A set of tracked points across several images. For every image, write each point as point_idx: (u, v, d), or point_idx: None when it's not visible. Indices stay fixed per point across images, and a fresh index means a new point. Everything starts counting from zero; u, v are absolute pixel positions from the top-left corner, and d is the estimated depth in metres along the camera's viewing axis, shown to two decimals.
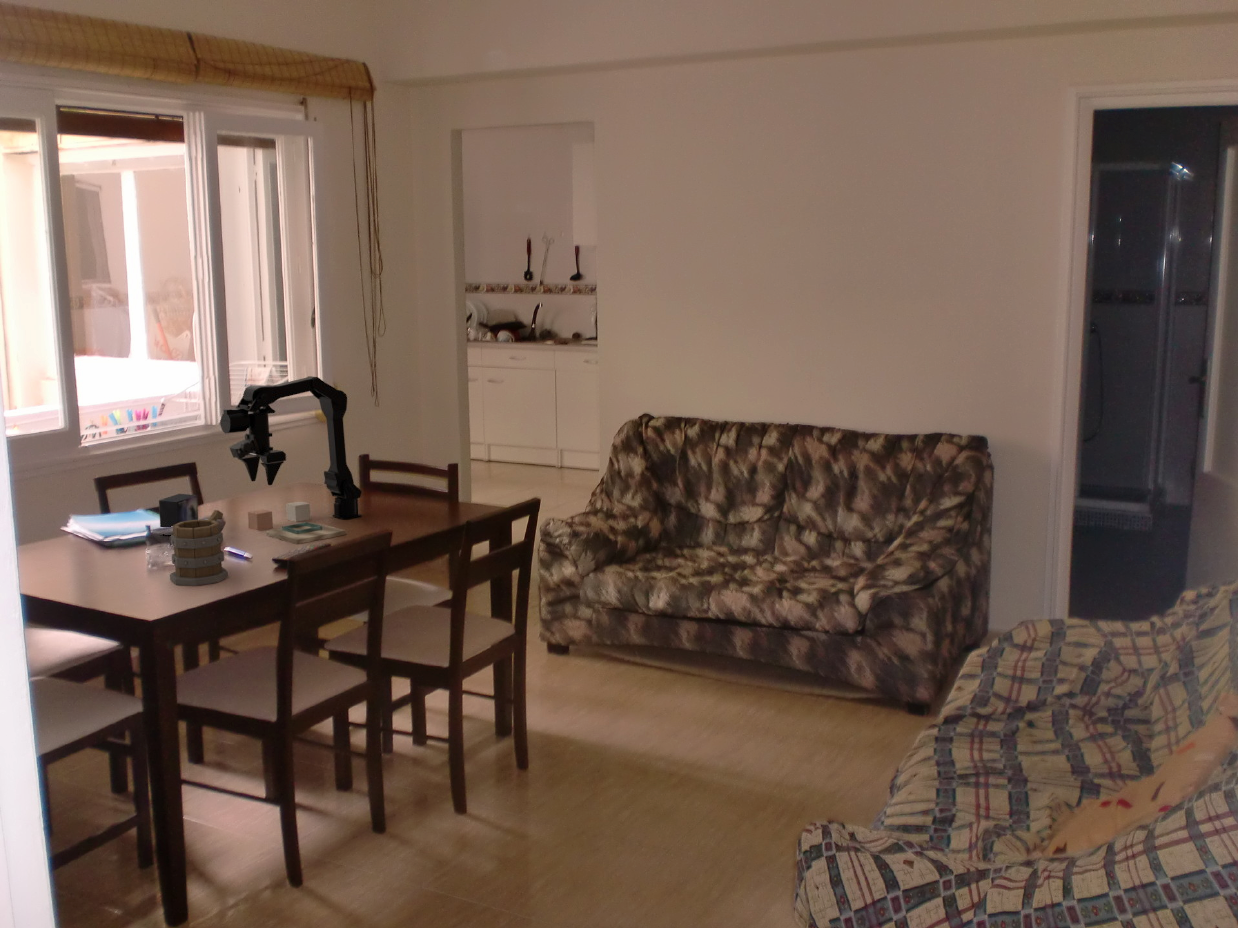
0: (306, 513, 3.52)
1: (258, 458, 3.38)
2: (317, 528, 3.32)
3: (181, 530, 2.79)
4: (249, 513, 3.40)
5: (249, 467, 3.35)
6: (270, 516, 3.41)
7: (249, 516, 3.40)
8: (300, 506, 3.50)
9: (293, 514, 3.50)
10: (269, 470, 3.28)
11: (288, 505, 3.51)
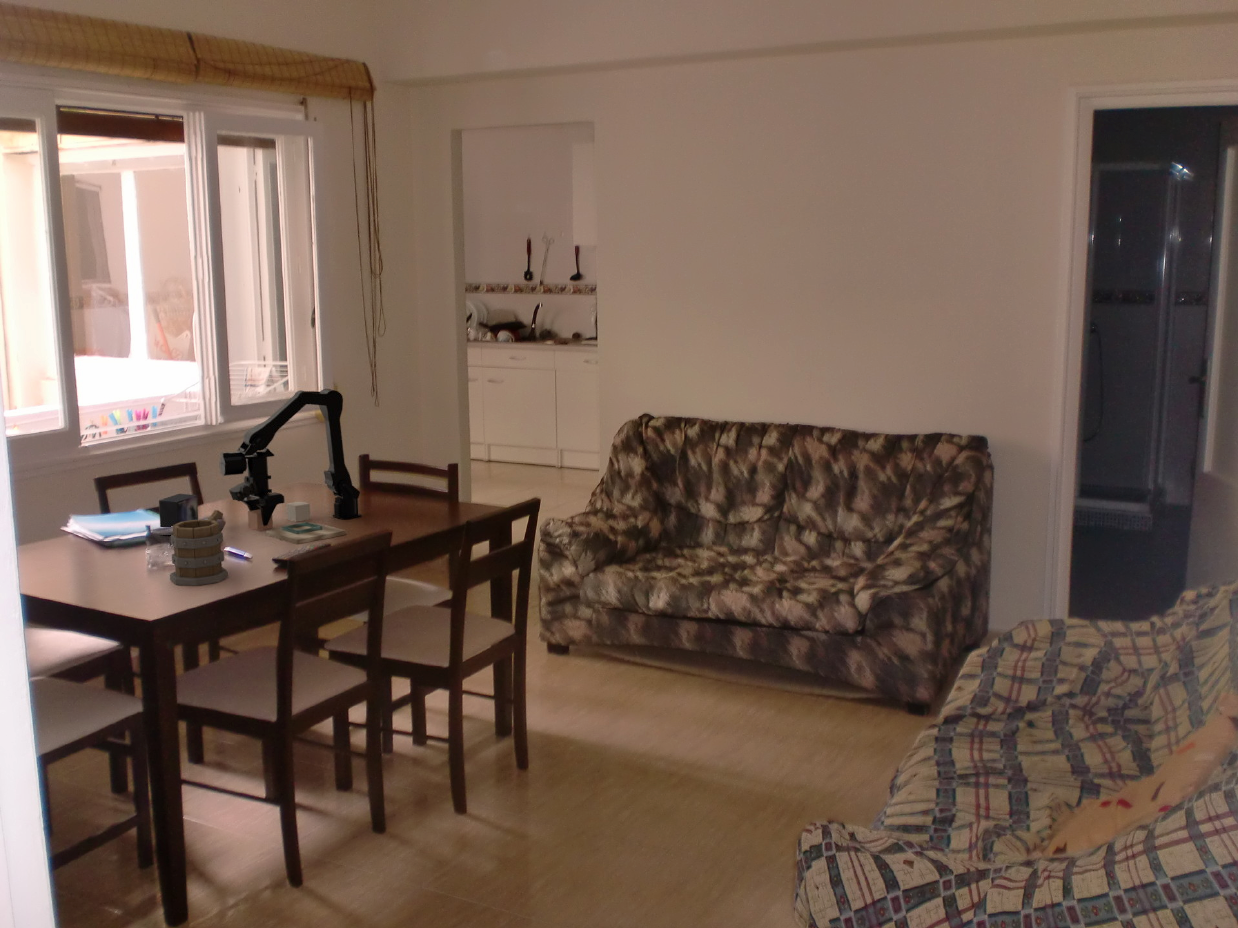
0: (306, 513, 3.52)
1: None
2: (317, 528, 3.32)
3: (182, 530, 2.79)
4: (249, 513, 3.40)
5: (252, 509, 3.42)
6: None
7: (249, 516, 3.40)
8: (300, 506, 3.50)
9: (293, 514, 3.50)
10: (264, 511, 3.37)
11: (288, 505, 3.51)
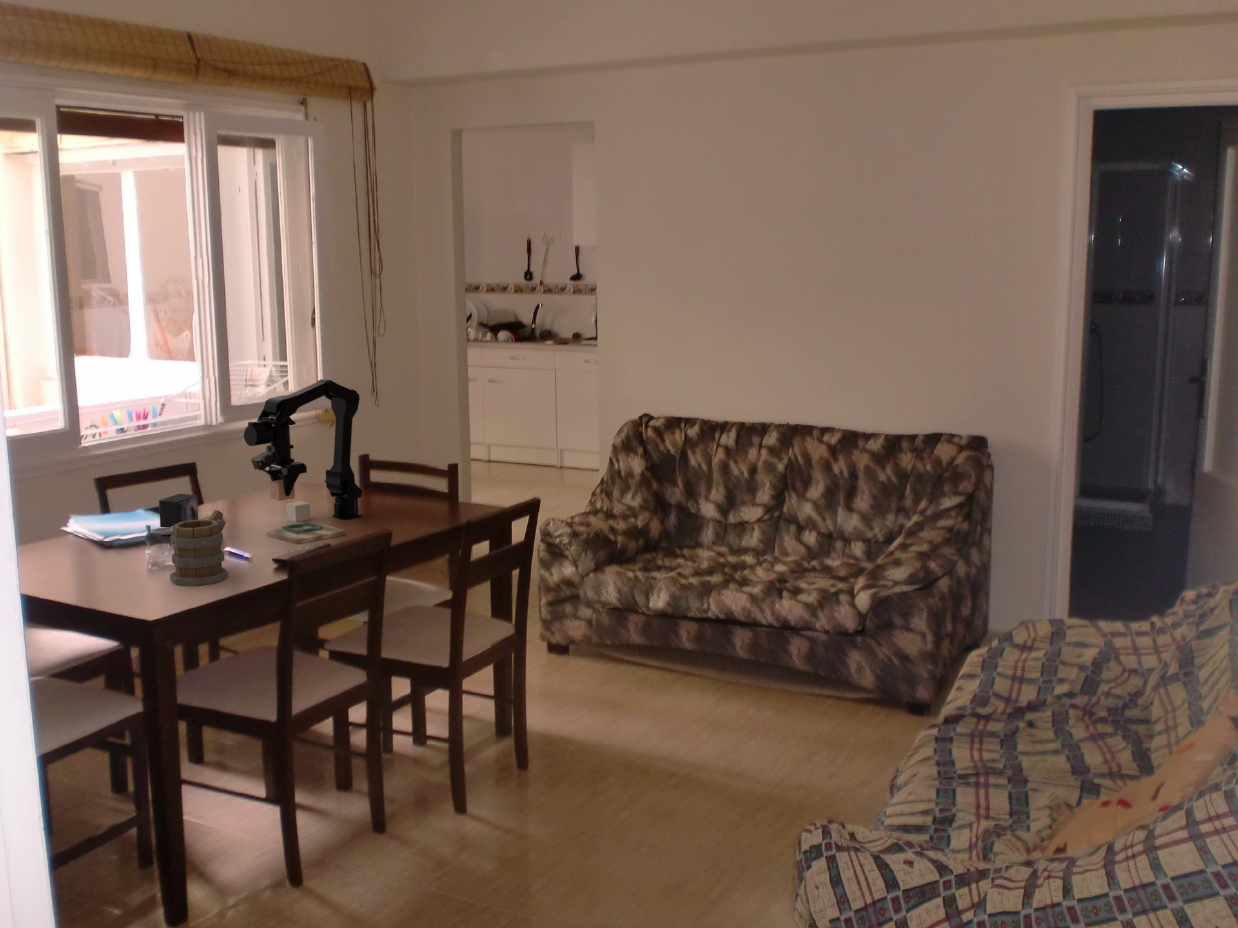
0: (306, 513, 3.52)
1: None
2: (317, 528, 3.32)
3: (182, 530, 2.79)
4: (271, 483, 3.34)
5: (274, 479, 3.36)
6: None
7: (271, 486, 3.34)
8: (300, 506, 3.50)
9: (293, 514, 3.50)
10: (286, 481, 3.31)
11: (288, 505, 3.51)
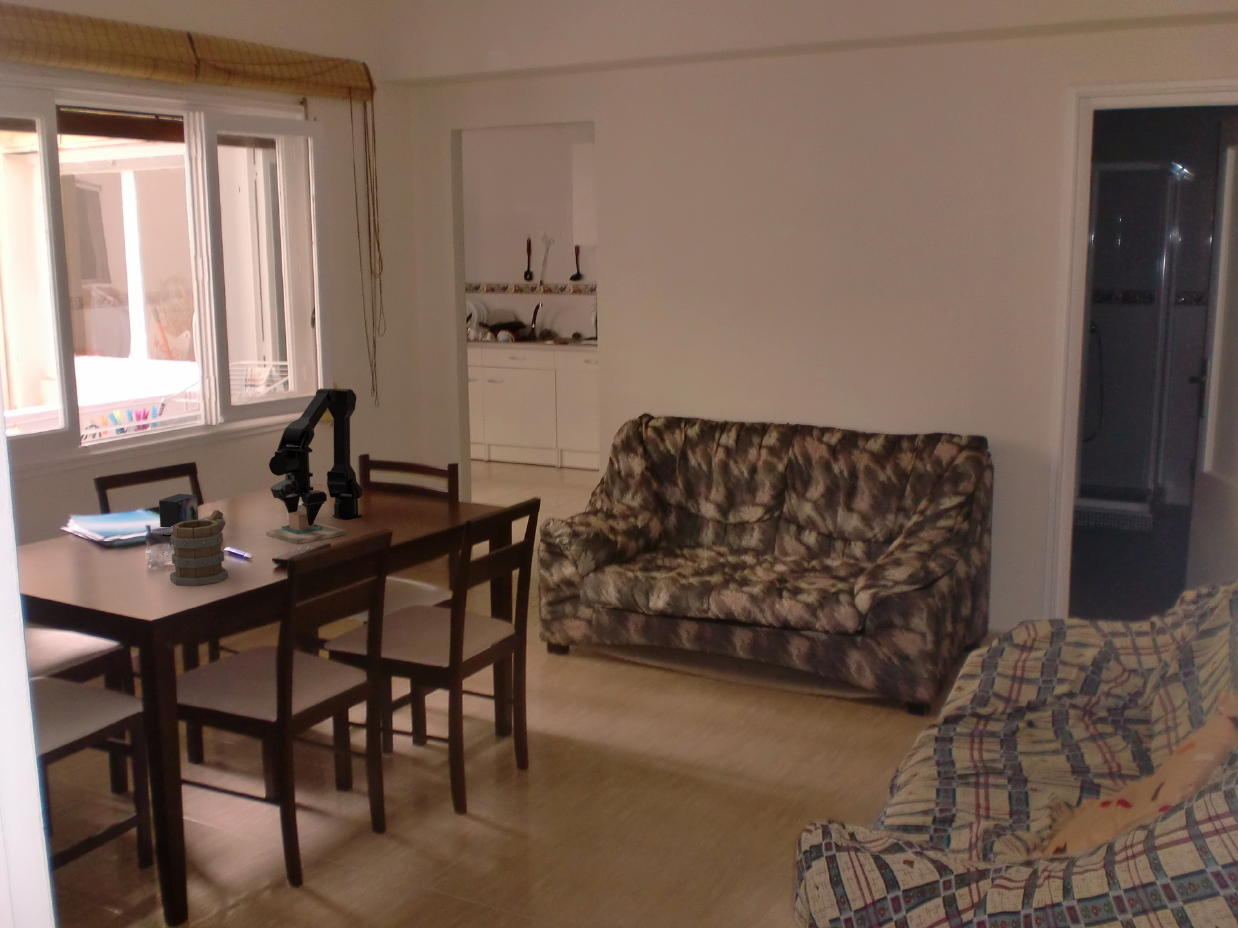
0: None
1: (298, 497, 3.37)
2: (317, 528, 3.32)
3: (181, 530, 2.79)
4: (290, 514, 3.32)
5: (289, 507, 3.35)
6: None
7: (290, 517, 3.32)
8: (300, 506, 3.50)
9: None
10: (310, 510, 3.28)
11: None
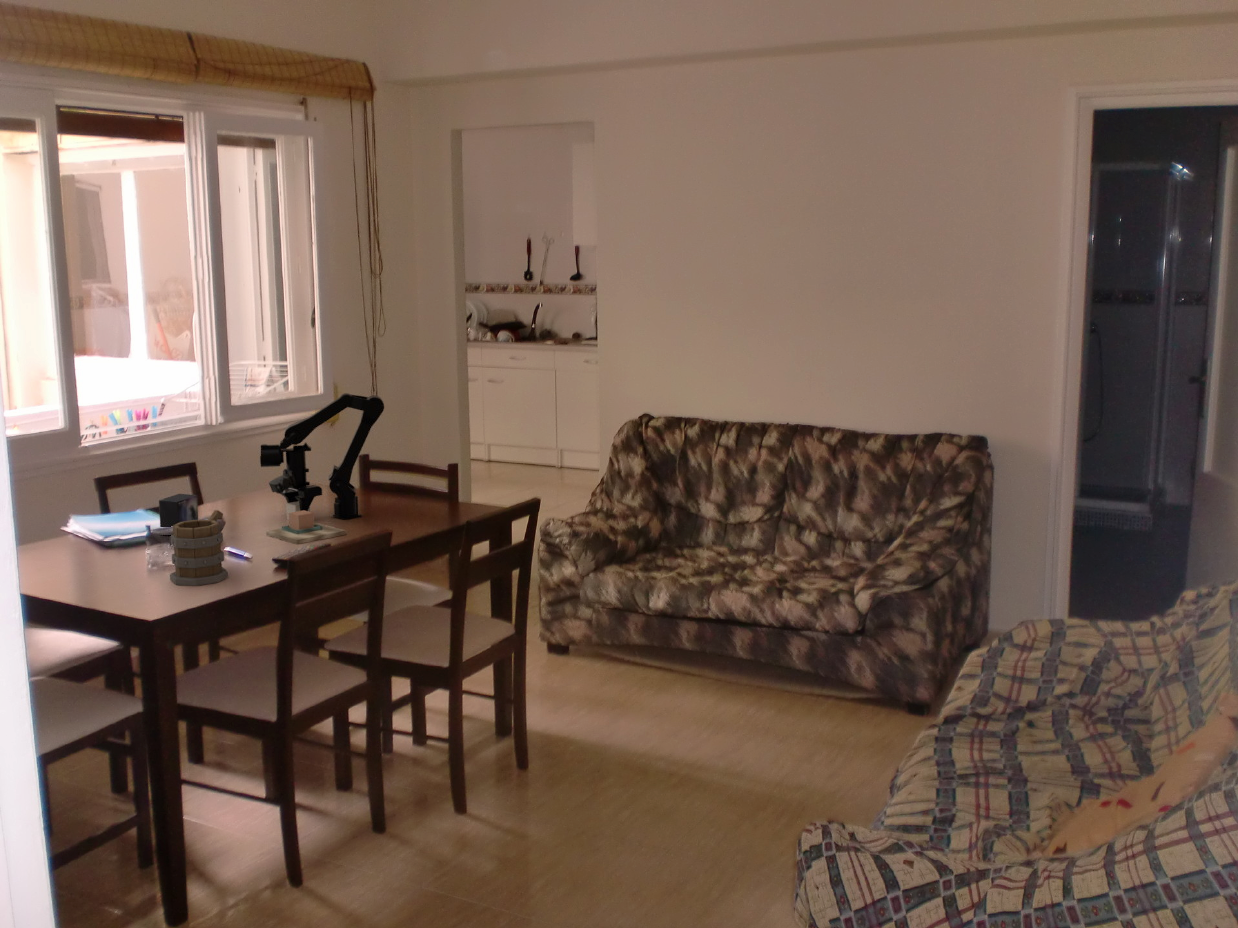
0: None
1: None
2: (317, 528, 3.32)
3: (181, 530, 2.79)
4: (290, 514, 3.32)
5: (290, 501, 3.53)
6: (311, 517, 3.33)
7: (290, 517, 3.32)
8: None
9: None
10: (303, 503, 3.49)
11: (288, 505, 3.51)
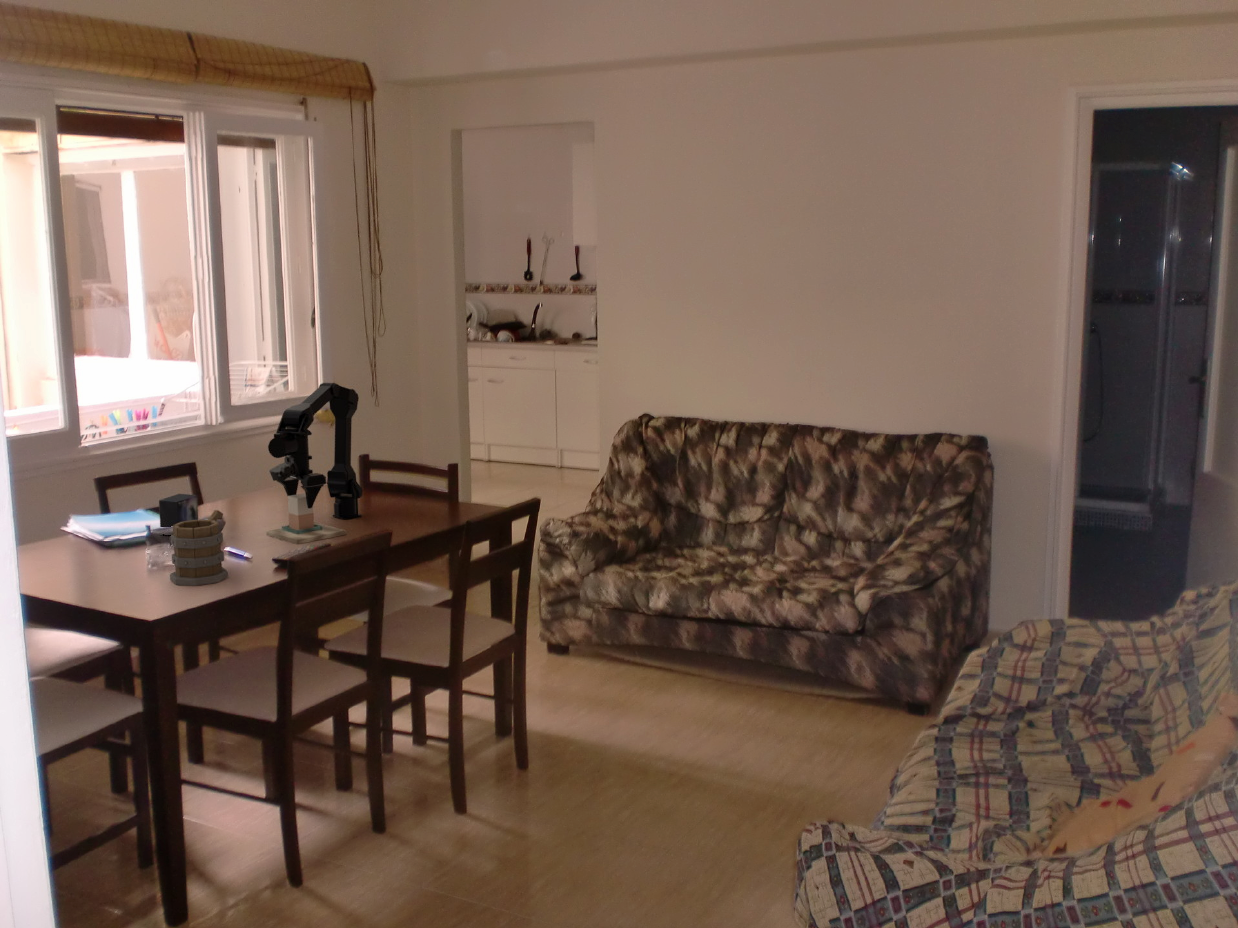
0: None
1: (297, 480, 3.36)
2: (317, 528, 3.32)
3: (181, 530, 2.79)
4: (290, 514, 3.32)
5: (288, 490, 3.34)
6: (311, 517, 3.33)
7: (290, 517, 3.32)
8: (302, 498, 3.30)
9: (295, 507, 3.29)
10: (309, 493, 3.27)
11: (290, 497, 3.31)
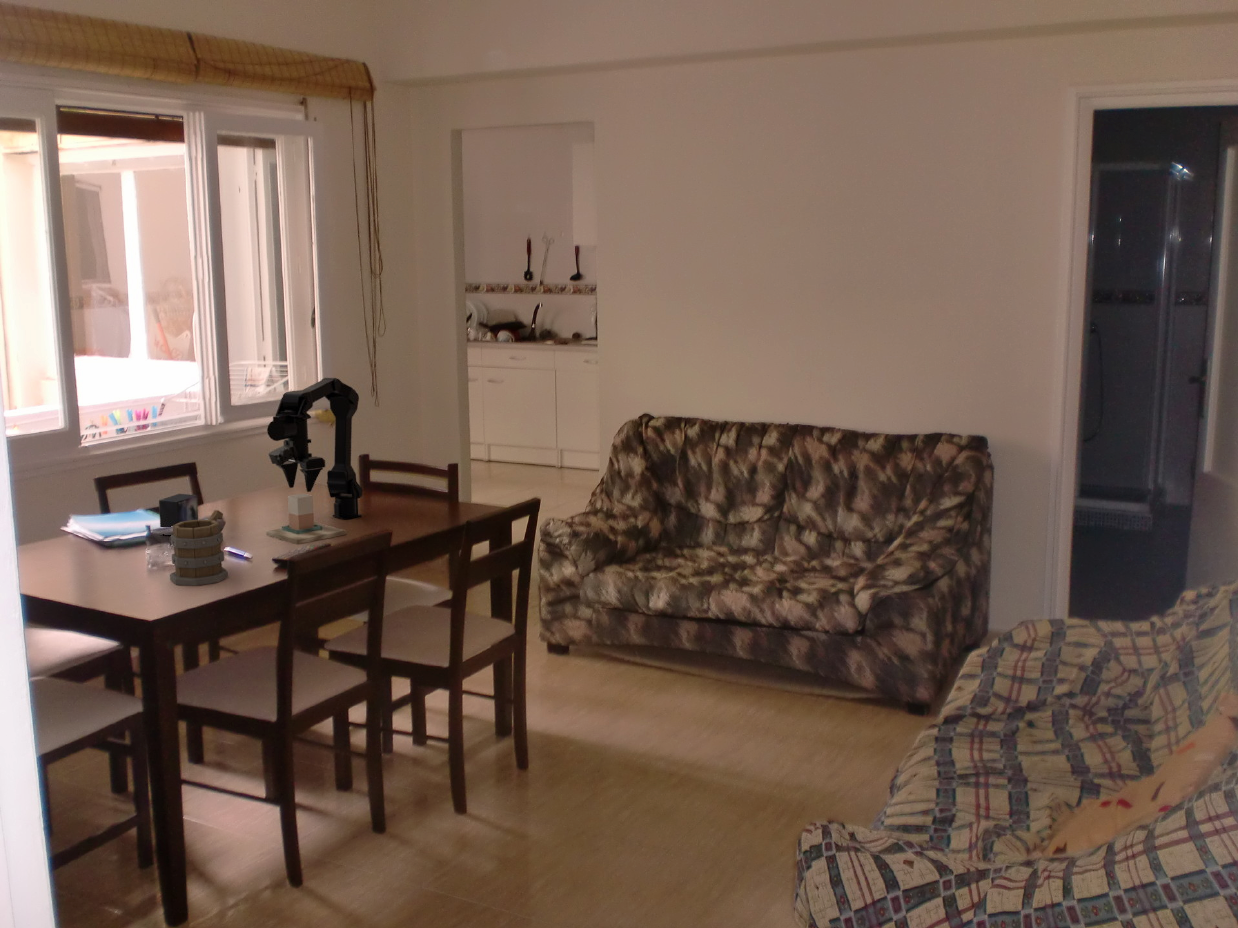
0: (309, 506, 3.31)
1: (296, 464, 3.35)
2: (317, 528, 3.32)
3: (181, 530, 2.79)
4: (290, 514, 3.32)
5: (287, 473, 3.33)
6: (311, 517, 3.33)
7: (290, 517, 3.32)
8: (302, 498, 3.30)
9: (295, 507, 3.29)
10: (308, 477, 3.26)
11: (290, 497, 3.31)
